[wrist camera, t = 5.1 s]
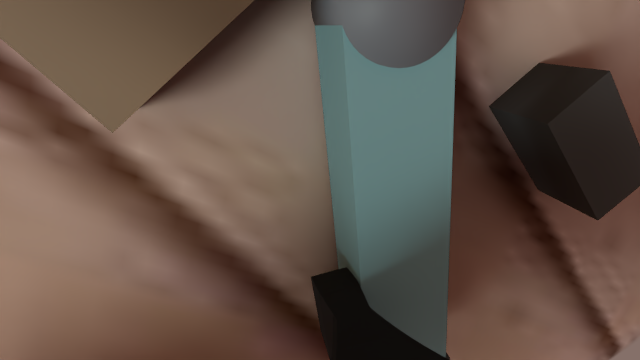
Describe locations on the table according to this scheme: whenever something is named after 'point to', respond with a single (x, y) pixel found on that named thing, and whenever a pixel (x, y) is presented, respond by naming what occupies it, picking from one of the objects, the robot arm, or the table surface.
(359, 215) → the stool leg
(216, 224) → the table surface
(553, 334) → the table surface
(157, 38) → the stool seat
